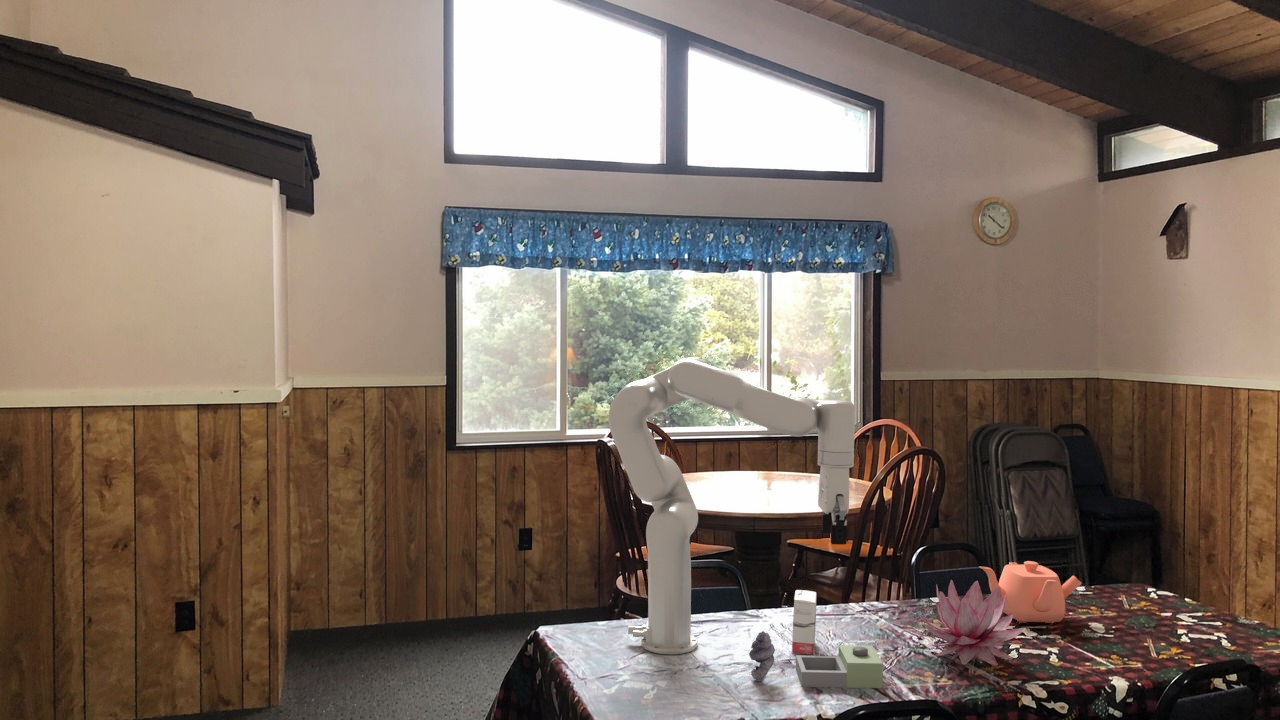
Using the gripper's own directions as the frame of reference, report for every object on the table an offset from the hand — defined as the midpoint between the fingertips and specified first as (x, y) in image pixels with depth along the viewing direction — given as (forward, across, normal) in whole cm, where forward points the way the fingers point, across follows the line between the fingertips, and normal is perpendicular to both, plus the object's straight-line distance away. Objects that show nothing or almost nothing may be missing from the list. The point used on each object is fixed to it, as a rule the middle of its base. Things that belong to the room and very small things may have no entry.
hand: (833, 538), depth 198 cm
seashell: (+27, +11, -16) cm, 33 cm away
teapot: (+26, -29, +54) cm, 67 cm away
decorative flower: (+26, -2, +30) cm, 40 cm away
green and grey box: (+26, +10, 0) cm, 28 cm away
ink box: (+27, -7, -4) cm, 28 cm away
